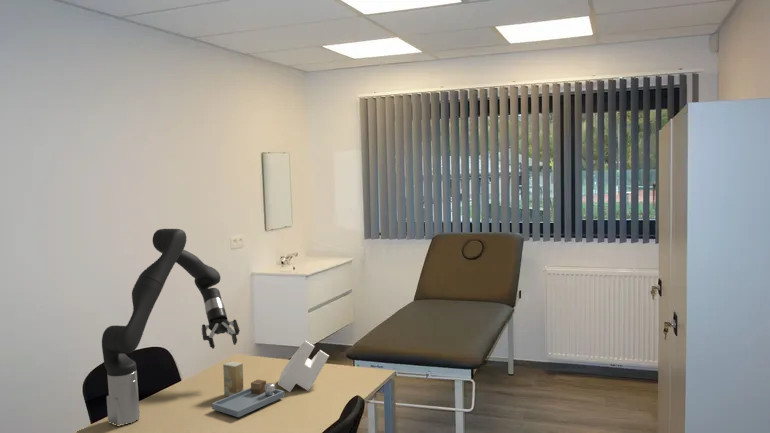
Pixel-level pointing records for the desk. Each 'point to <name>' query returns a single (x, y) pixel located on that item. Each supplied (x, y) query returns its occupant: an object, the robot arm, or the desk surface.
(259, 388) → the walnut block
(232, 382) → the skincare box
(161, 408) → the desk surface
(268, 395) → the chrome dome knob
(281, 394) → the blue-grey serving tray
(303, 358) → the slotted wedge
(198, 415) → the desk surface
